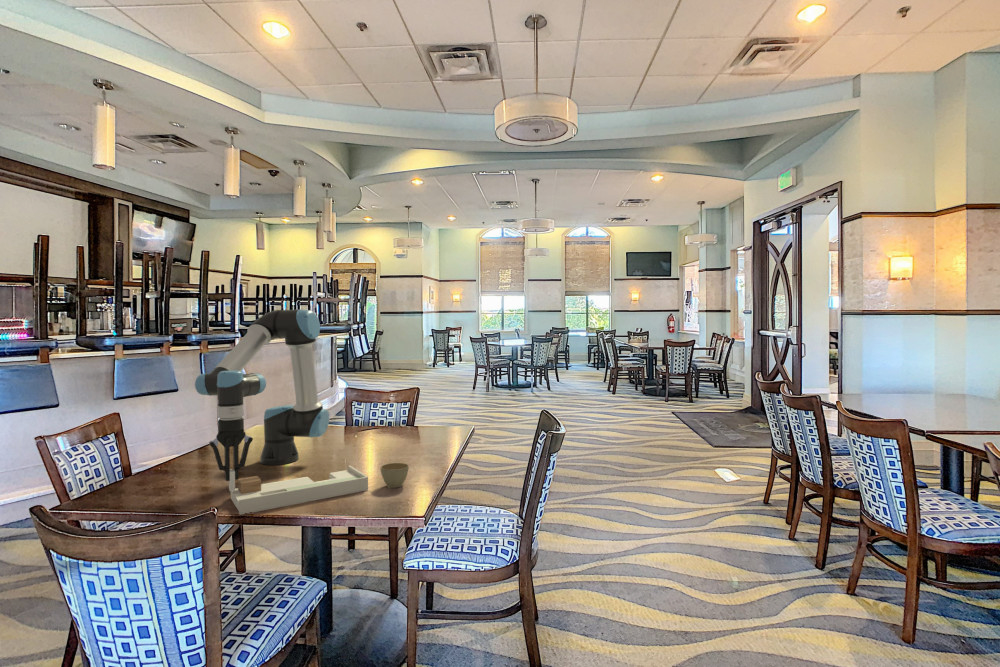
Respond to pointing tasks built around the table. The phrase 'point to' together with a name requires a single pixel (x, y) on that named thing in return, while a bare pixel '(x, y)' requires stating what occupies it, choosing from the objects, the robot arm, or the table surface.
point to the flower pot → (394, 474)
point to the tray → (299, 491)
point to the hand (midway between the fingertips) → (232, 489)
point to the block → (249, 484)
